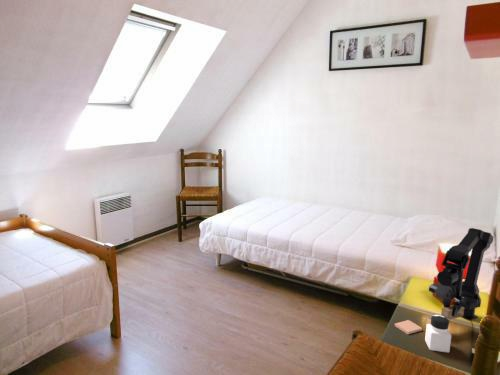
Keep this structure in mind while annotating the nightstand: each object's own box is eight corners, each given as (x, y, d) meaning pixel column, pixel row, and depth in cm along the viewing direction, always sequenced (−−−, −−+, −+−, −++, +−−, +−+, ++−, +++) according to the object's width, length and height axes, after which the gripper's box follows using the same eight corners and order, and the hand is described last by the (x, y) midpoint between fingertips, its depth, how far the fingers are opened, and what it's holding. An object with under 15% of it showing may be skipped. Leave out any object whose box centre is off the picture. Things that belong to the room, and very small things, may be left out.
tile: (408, 319, 159) (394, 323, 156) (422, 328, 153) (408, 331, 150) (408, 323, 160) (394, 327, 156) (421, 331, 153) (407, 335, 150)
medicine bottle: (449, 353, 138) (453, 323, 136) (429, 350, 139) (432, 320, 137) (443, 342, 145) (447, 314, 143) (424, 339, 146) (427, 311, 144)
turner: (454, 311, 159) (455, 303, 158) (465, 317, 154) (466, 308, 154) (428, 318, 152) (429, 309, 152) (439, 324, 148) (440, 315, 147)
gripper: (421, 273, 156) (417, 308, 159) (462, 291, 140) (457, 329, 142) (439, 270, 161) (436, 303, 163) (481, 287, 144) (476, 324, 147)
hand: (450, 314), depth 154 cm, fingers closed on turner, 3 cm apart
